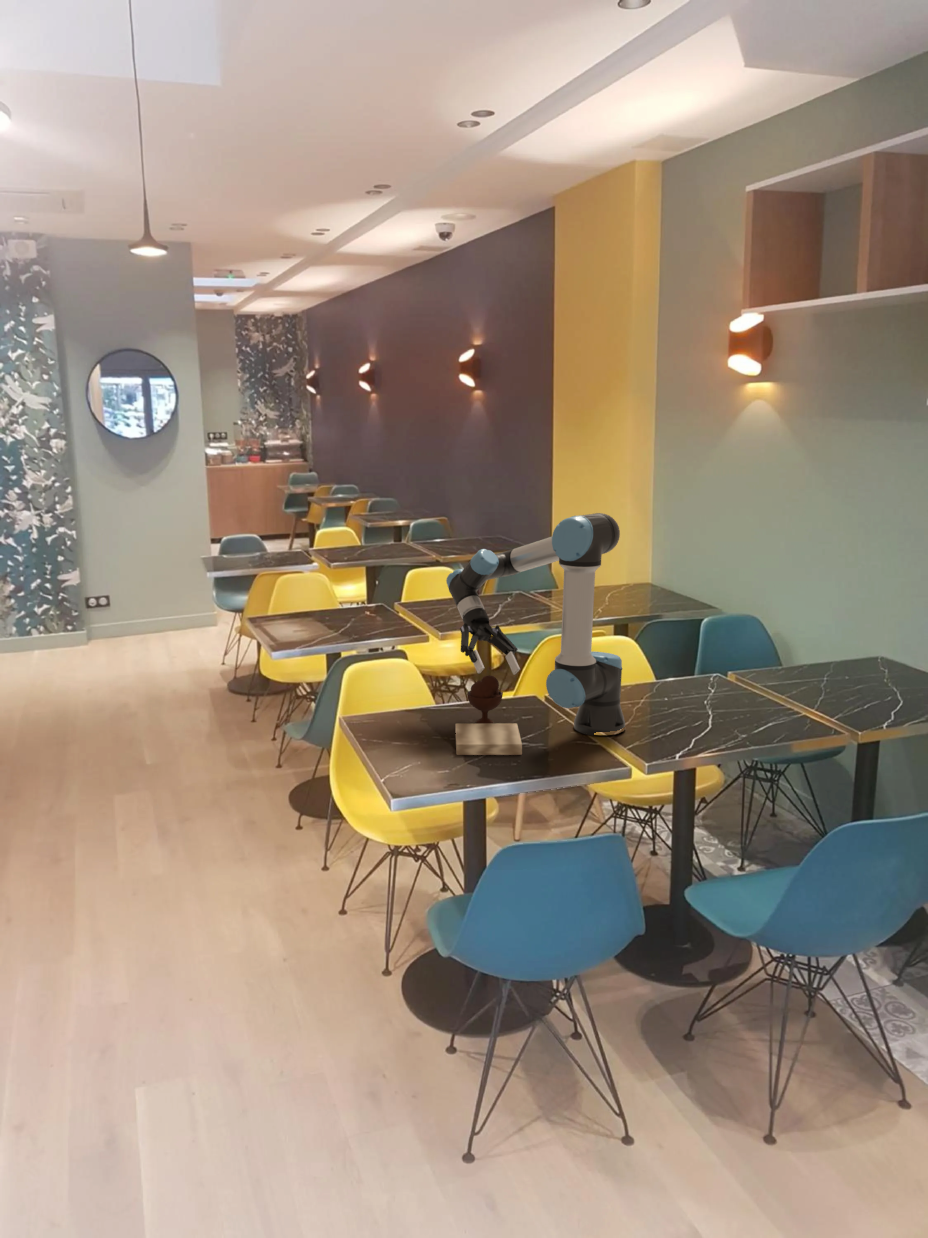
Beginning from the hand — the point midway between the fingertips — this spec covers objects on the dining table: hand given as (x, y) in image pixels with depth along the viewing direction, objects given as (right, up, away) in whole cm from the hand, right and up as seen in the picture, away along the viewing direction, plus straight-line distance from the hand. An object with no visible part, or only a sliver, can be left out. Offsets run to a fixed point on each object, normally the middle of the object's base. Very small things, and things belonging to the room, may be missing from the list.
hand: (499, 671), depth 286 cm
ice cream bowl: (-4, -17, +10) cm, 20 cm away
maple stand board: (-4, -20, -7) cm, 22 cm away
